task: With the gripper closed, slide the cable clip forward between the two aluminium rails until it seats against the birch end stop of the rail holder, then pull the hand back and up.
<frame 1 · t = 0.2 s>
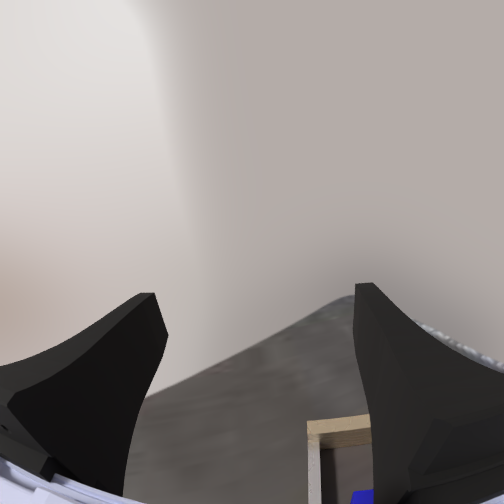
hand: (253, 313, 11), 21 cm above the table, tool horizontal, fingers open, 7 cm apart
rail holder: (407, 462, 22), on the table
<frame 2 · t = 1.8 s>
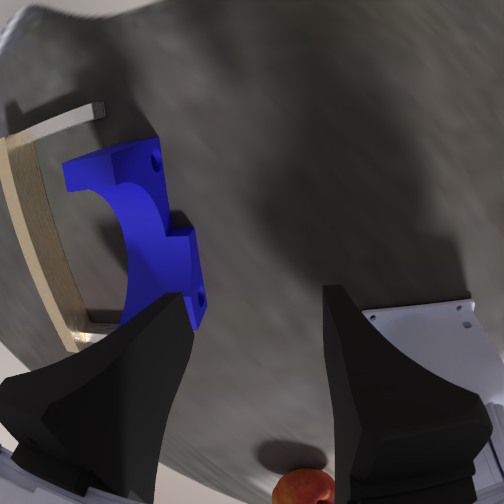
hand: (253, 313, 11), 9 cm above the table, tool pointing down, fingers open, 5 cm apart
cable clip: (164, 226, 21), on the table
rail holder: (87, 236, 22), on the table
fruit: (305, 469, 34), on the table
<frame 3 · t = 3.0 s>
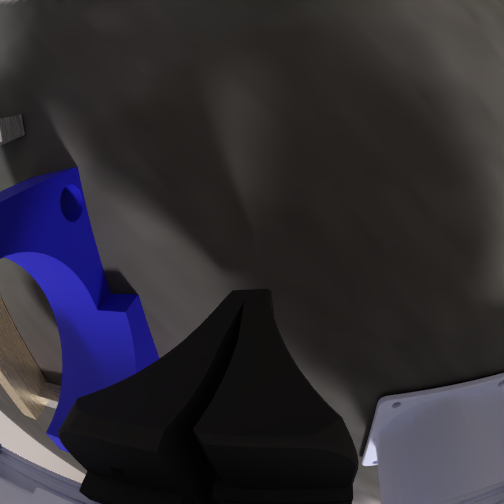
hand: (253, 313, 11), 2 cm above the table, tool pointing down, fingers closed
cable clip: (101, 289, 14), on the table
rail holder: (24, 291, 15), on the table
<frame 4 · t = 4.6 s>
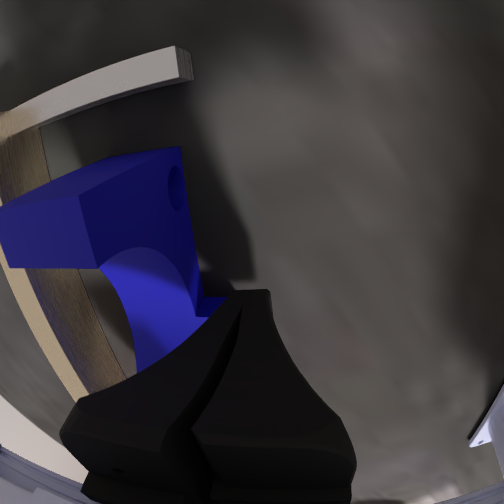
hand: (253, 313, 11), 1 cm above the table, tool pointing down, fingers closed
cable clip: (189, 292, 13), on the table
rail holder: (140, 295, 13), on the table
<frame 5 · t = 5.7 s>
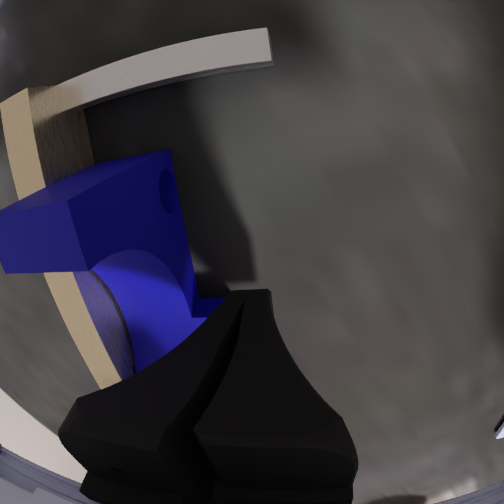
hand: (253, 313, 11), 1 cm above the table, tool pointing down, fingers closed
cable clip: (185, 293, 14), on the table
rail holder: (195, 293, 13), on the table
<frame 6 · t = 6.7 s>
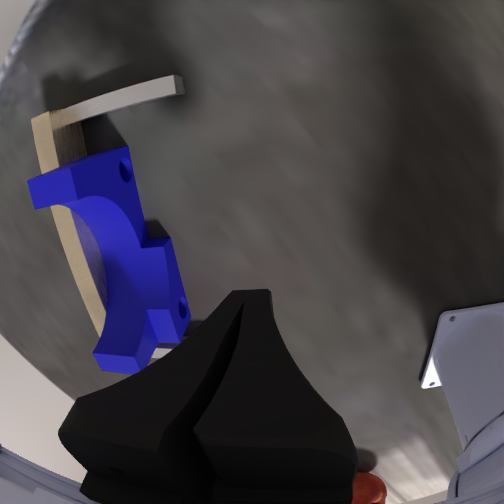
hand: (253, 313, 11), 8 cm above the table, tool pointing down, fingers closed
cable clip: (141, 237, 20), on the table
rail holder: (147, 235, 20), on the table
fruit: (352, 473, 32), on the table
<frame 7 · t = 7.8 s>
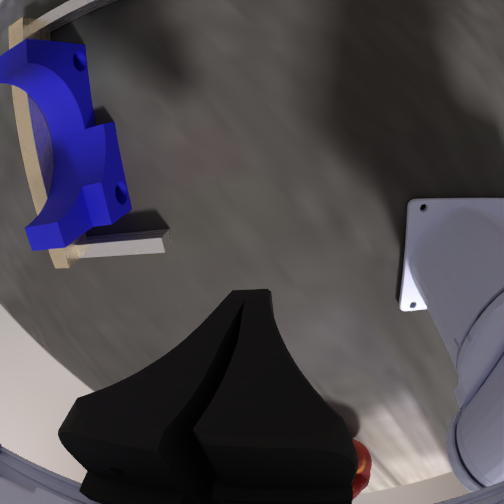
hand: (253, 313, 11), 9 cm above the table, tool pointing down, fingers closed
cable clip: (90, 128, 19), on the table
rail holder: (94, 121, 18), on the table
fruit: (332, 440, 30), on the table
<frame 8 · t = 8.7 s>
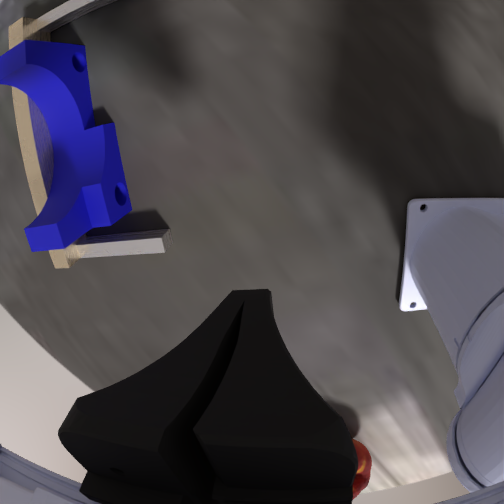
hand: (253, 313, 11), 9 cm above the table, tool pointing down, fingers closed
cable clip: (90, 129, 19), on the table
rail holder: (94, 121, 18), on the table
fruit: (332, 440, 30), on the table
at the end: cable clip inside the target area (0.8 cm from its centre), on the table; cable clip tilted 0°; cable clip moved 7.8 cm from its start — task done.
